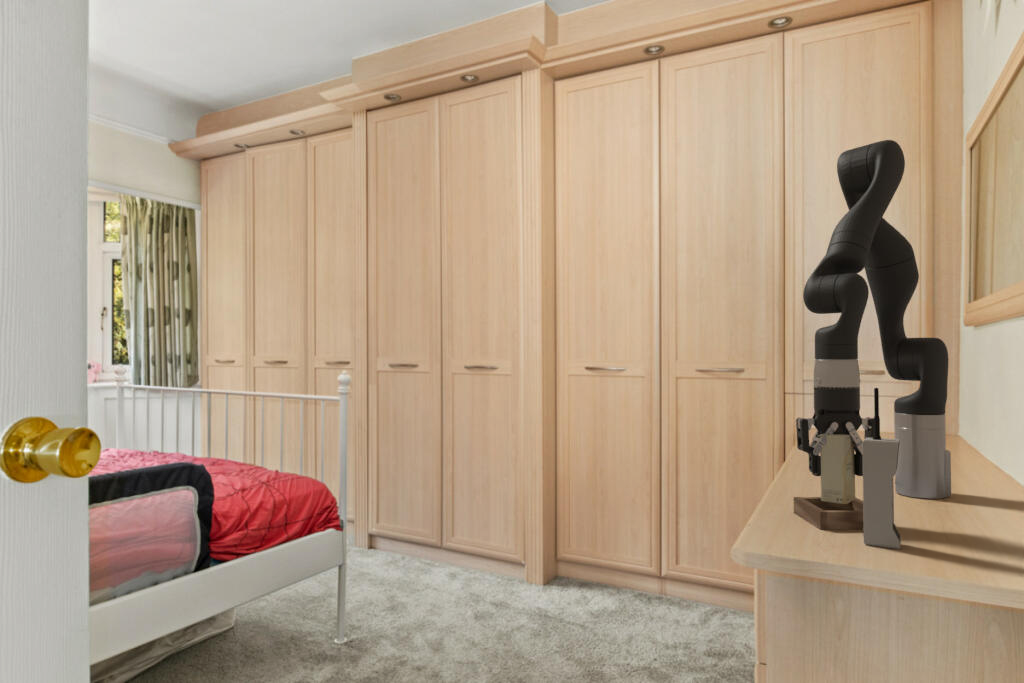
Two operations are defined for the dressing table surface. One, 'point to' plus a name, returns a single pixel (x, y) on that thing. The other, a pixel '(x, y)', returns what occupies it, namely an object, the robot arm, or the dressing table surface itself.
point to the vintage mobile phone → (879, 486)
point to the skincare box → (837, 469)
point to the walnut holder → (830, 513)
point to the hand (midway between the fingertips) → (837, 475)
